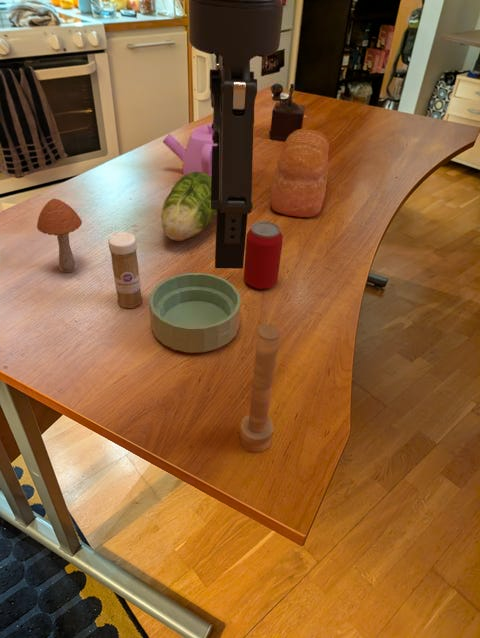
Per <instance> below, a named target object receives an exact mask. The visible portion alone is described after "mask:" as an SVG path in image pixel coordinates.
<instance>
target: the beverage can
mask: <svg viewBox="0 0 480 638" xmlns="http://www.w3.org/2000/svg"><path fill="white" fill-rule="evenodd" d="M283 236H284V235H283V234H282V231H281V228H280V226H279V225H278V224H276V223H275V222H272V221H265V220H264V221H263V220H261V221H257V222H254V223H252V225H251V227H250V229H249V230H248V231H247V232H246V239H245V251H244V266H243V279H244V282H245V283H246V284H247V285H248V286H250V287H253V288H255V289H259V290H263V289H269V288H272V287H274V286H275V285H276V284H277V283H278V277H279V273H280V272H279V271H280V266H281V265H280V264H281V258H282V257H281V256H282V249H283V248H282V247H283V241H284V240H283V239H284V237H283Z"/></svg>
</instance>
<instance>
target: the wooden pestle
mask: <svg viewBox="0 0 480 638" xmlns="http://www.w3.org/2000/svg"><path fill="white" fill-rule="evenodd" d="M280 333H281V332H280V329H279V328H278V326H276V325H274V324H270V323H269V324H266V323H265V324H262V325H260V326H259V328H258V329H257V337H256V348H255V357H254V366H253V367H254V368H253V374H252V375H253V376H252V378H253V379H252V385H251V386H252V387H251V396H250V405H249V413H248V414H246V415H245V416H244V417H243V418H242V420H241V422H240V431H239V442H240V444H241V446H242V447H243V448H244V449H245V450H246V451H249V452H252V453H262V452H265V451H266V450H268V449H269V448H270V447H271V445H272V440H273V435H274V434H273V433H274V428H275V427H274V426H275V425H274V422H273V420H272V419H271V418H270V416H269V410H270V403H271V397H272V389H273V383H274V376H275V370H276V369H275V368H276V361H277V355H278V348H279V342H280Z"/></svg>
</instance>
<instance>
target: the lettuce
mask: <svg viewBox="0 0 480 638" xmlns="http://www.w3.org/2000/svg"><path fill="white" fill-rule="evenodd" d="M161 209H162V210H161V216H160V217H161V226H162V231H163V232H164V234H165V235H166V237H168V238H169V239H171V240H173V241H176V242H177V241H179V242H180V241H182V242H183V241H185V240H187V239H191V238H193V237H195V236H198V235H199V234H200V233H201V232H202V231H203V230H204V229H205V228H206V227H208V226H209V225H210V224H211V223H212V222H213V221H214V219H215V218H216V216H217V210H211V176H210V175H208V174H206V173H202V172H193V173H189V174H187V175H185V176H184V175H183V176H182V177H180V179H178V180H177V181H176V182H175V184H174V185H173V187H172V188H171V191H170V193H169V194H168V195H167V197H166V198H165V200H164V202H163V205H162V208H161Z"/></svg>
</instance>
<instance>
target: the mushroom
mask: <svg viewBox="0 0 480 638" xmlns="http://www.w3.org/2000/svg"><path fill="white" fill-rule="evenodd" d="M82 223H83V221H82V219H81V217H80V216H79V214H78V213H77V212H76V211H75V210H74V209H73V208H72V206H70V205H69V204H67V203H66V202H65V201H62V200H61V199H58V198H52V199H50V200H49V201H48V202H47V203H46V204H45V205H44V206H43V207H42V209H41V210H40V212H39V215H38V218H37V224H36V229H37V231H39V232H41V233H42V234H45V235H46V234H47V235H49V236H52V235H53V236H56V237H57V243H58V268H60V270H61V271H62V272H64V273H67V274H68V273H72V272H74V271H75V268H76V261H75V258H74V255H73V251H72V248H71V244H70V236H69V234H70V233H73V232H75V231H76V230H78V229H79V228H80V227H81V226H82Z"/></svg>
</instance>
